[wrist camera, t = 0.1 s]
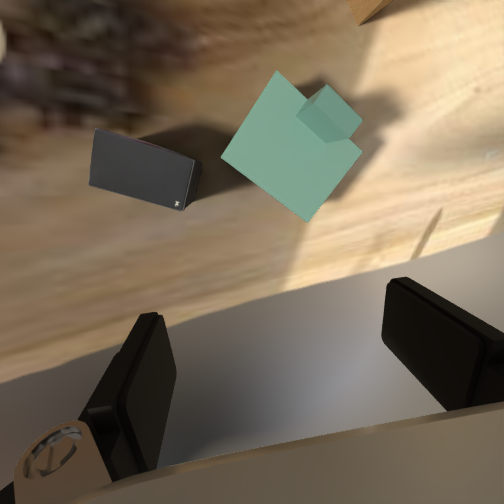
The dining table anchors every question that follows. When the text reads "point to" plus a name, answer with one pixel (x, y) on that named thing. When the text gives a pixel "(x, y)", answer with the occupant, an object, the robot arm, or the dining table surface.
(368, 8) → the sandwich container
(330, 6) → the dining table surface
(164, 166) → the small box
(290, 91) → the lid
